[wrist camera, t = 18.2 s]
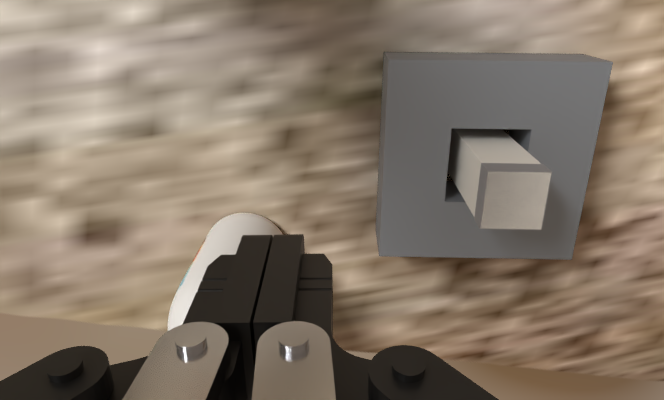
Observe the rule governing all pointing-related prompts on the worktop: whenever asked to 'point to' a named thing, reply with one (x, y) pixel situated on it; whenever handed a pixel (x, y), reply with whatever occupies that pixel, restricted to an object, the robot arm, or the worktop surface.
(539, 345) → the worktop surface
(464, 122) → the socket block
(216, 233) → the milk bottle
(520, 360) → the worktop surface
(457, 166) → the plug
